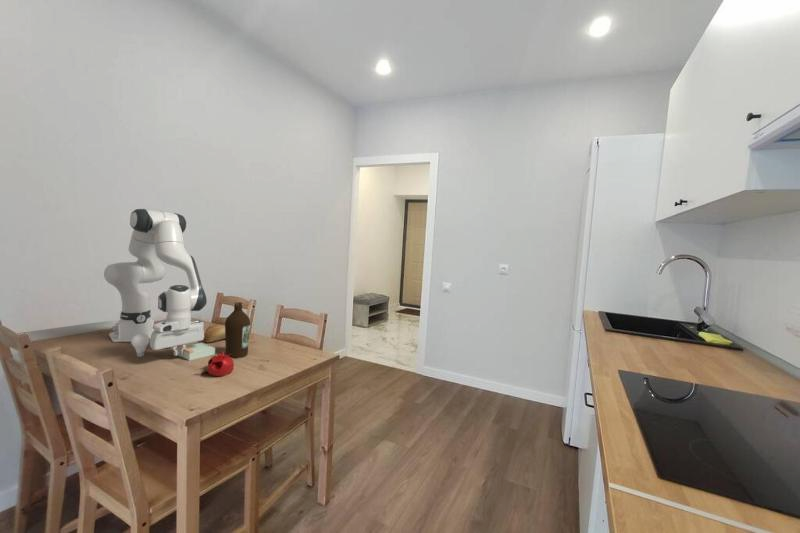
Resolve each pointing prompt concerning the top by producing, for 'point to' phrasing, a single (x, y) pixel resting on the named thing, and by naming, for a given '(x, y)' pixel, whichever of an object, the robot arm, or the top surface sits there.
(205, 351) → the mint green flat box
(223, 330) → the bread roll
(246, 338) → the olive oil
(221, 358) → the pomegranate
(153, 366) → the top surface
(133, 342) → the lightbulb
